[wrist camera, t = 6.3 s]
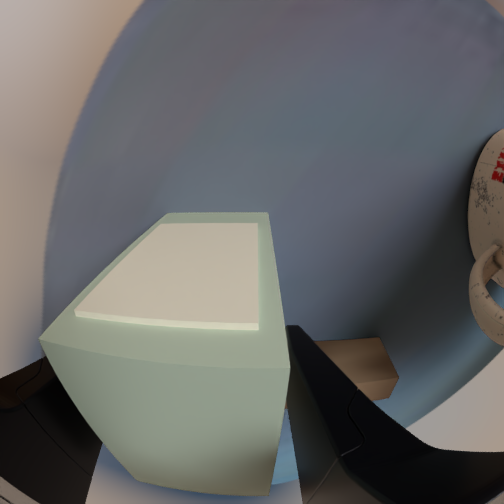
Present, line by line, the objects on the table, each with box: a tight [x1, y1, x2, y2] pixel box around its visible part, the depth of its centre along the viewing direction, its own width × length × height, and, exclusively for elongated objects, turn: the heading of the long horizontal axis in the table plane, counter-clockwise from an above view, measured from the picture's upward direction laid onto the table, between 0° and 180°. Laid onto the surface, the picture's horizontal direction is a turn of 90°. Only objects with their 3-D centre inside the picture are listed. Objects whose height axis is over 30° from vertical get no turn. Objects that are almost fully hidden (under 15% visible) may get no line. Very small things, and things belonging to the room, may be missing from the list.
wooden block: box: [285, 337, 399, 409], centre depth 12 cm, size 12×2×3 cm, turn 90°
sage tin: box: [38, 212, 290, 496], centre depth 8 cm, size 4×6×8 cm, turn 0°
